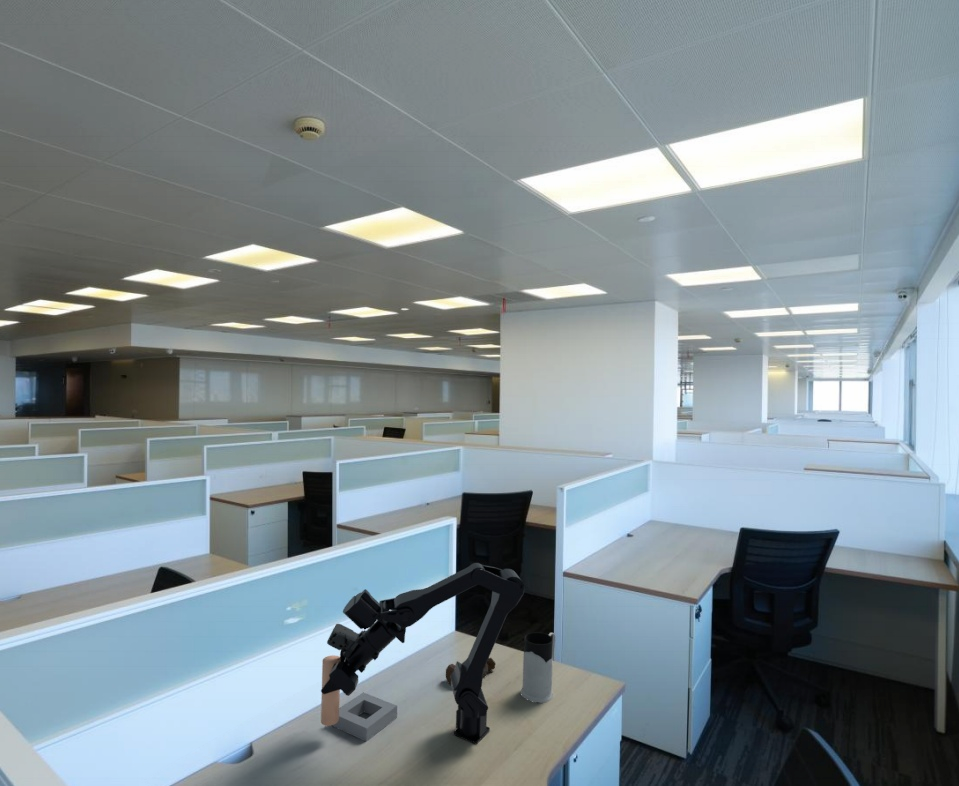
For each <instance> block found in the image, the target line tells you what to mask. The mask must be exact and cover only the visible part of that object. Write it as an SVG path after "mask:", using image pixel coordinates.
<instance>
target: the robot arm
mask: <svg viewBox="0 0 959 786" xmlns="http://www.w3.org/2000/svg"><path fill="white" fill-rule="evenodd" d="M476 586H480V587H483V588H485V589H487V590H490V591H491V601H490V604H489V607H488V610H487V613H486V614H485V616H484V619H483V621H482V624H481V626H480V628H479V631H478V633H477V635H476V637H475V640H474V642H473V644H472V646H471V649H470V652H469V654H468V656H467V658H466V659H465V660H464V661H463V662H462V663H461V662H460V661H456V662H455V664H454V665H455V669H454V671H453V673H452V674H451V675H450V678H451V685H450V686H451V690H452V694H453V698H454V701H455V703H456V705H457V710H455V712H456V713H455V719H456V720H455V727H456V729H455V730H454V731H453V736H456V737H457V738H460V739H463V740H465V741H468V742H470V743H474V744H478V743H479V742H480V741H481V740H482V739H483V738H485V737H484V736H486V735H487V734H488V732H490V727H489V726H487V718H488V717H487V716H488V709H489V706H488V703H487V701H486V698H485V695H484V691H483V689H482V686H483V678H484V676H483V671H484V668H485V665H486V663H487V661H488V658H490V656H491V655H492V651H493V649H494V646H495V644H496V641H497V640H498V637H499V636H500V632H501V630H502V628H503V625H504V623H505V622H506V621H505V620H506V618H507V616H508V614H510V612H512V610H513V609H514V608H515V607H517V605H518V603H520V601H521V599H522V597H523V596H524V594H525V590H526V589H525V584H524V582H523V580H522V579H521V577H519V575H518V573H516V572H515V571H514V570H513V569H511V568H503V569H501V568H498V567H494V566H490V565H484V564H481V563H479V562H473V563H471V564H470V565H469V566H468V567H465V568H464V569H462V570H461V569H460V570H459V571H457V572H455V573H453V574H452V575H450V576H448V577H445V578H444V579H441V580H440V581H437V582H435V583H433V584H432V585H429V586H428V587H425V588H420V589H411V590H409V591H406V592H403V593H399V594H397V596H395V597H393V598H388V599H383V600H379V601H377V599H375V598H374V597H373V596H372V595H371V593H370V592H369V590H368V589H364V590H362V591H361V592H359V593H358V594H356V595H354V596H352V597H351V599H350V600H348V602H347V603H346V604H345V606H344V608H343V610H342V613H343V614H344V615H345V616H346V617H347V618H348V619H349V620H351V622H353V623H354V624H355V625H356V626H357V627H358V628H359V629H360V632H359V633H358V632H355V631H354V630H353V629H351V628H349V627H347V626H345V625H343V624H341V623H336V624H335V626H334V627H333V629H332V631H331V633H330V634H329V637H328V638H327V641H326V643H327V644H326V645H328V646H330V647H332V648H334V649H336V650H338V651H340V654H339V657H340V658H341V662H338V663H337V664H336V663H335V664H334V666H333V667H332V670H331V672H330V674H329V677H330V679H329V680H328V681H327V683H326V684H325V685H324V687H323V688H322V687H321V690H320V692H321V694H322V693H323V694H327V693H330V692H333V691H337V690H340V691H342V692H343V693H344V695H345V696H348V697H349V696H351V694H353V693H354V692H355V690H356V689H357V686H358V683H359V674H357V673H356V672H357V671H359V672H360V673H361V674H362V673H363V672H365V671H366V668H367V665H369V664H370V663H371V662H372V661H373V660H374V661H376V660H377V659H378V658H379V655H380V653H382V651H383V650H384V649H386V648H387V646H389V645H390V644H391V642H393V641H394V640H395V639H397V640H399V642H400V643H402V644H404V643H405V641H406V633H407V628H408V627H412V626H413V625H414V624H416V623H417V622H418V621H420V620H422V619H423V618H424V617H425V616H426V615H427V613H428V612H429V611H430V610H431V609H433V608H435V607H436V606H438V605H440V604H442V603H444V602H446V601H448V600H450V599H452V598H454V597H456V596H457V595H460V594H461V593H463V592H466V591H468V590H470V589H472V588H474V587H476ZM366 629H367V630H366Z"/></svg>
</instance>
